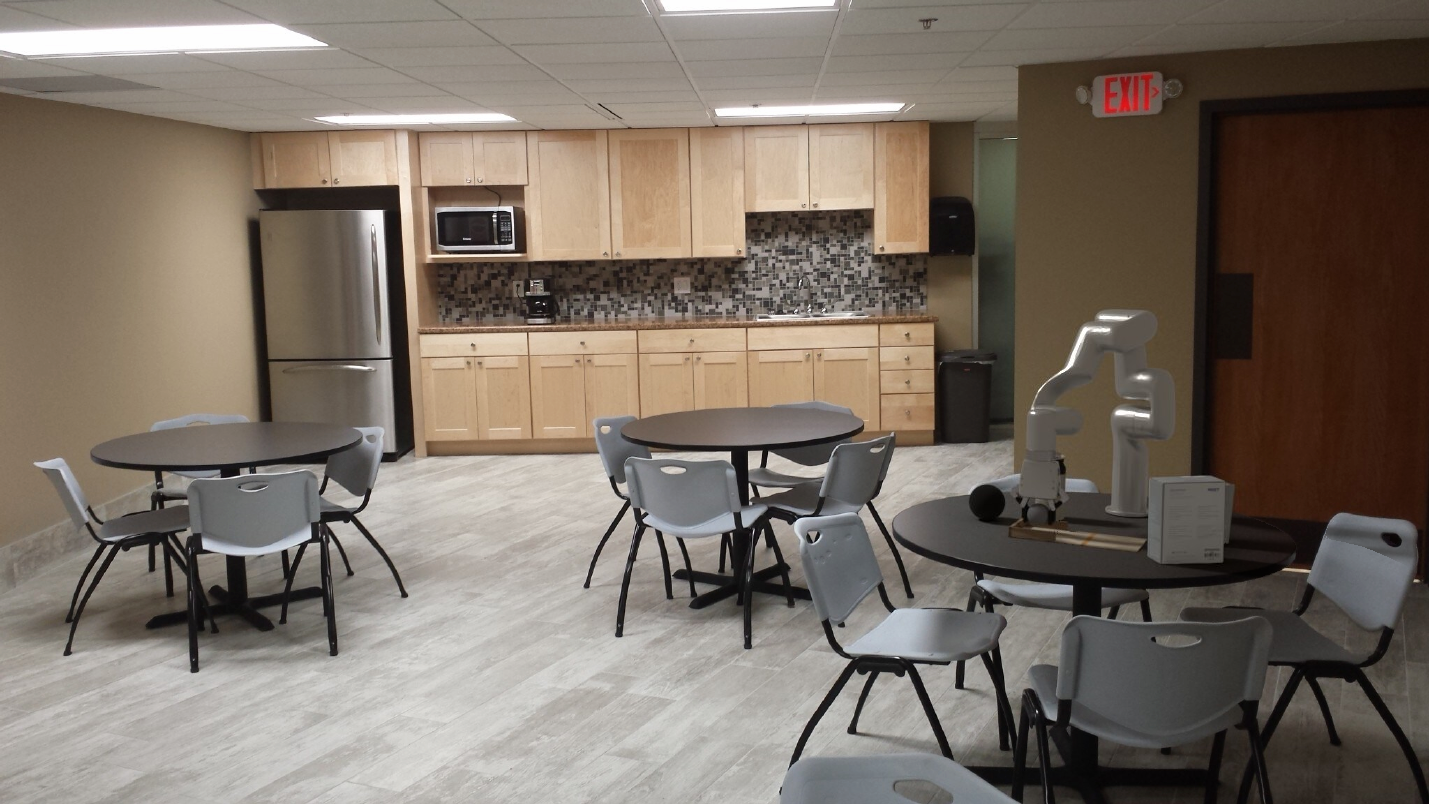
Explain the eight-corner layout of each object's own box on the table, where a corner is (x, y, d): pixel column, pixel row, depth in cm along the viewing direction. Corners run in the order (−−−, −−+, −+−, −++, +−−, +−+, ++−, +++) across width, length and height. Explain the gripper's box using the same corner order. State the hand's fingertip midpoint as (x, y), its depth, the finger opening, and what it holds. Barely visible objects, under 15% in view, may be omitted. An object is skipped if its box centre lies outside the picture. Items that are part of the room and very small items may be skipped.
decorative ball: (996, 525, 295) (997, 489, 294) (962, 520, 301) (963, 485, 300) (1010, 518, 303) (1011, 483, 302) (977, 514, 309) (977, 480, 308)
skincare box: (1185, 538, 279) (1188, 478, 277) (1207, 536, 282) (1209, 476, 280) (1211, 546, 271) (1214, 484, 270) (1232, 543, 274) (1236, 482, 272)
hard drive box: (1208, 555, 263) (1212, 475, 260) (1224, 563, 255) (1228, 481, 253) (1145, 556, 262) (1149, 476, 260) (1159, 564, 254) (1163, 482, 252)
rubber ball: (1029, 522, 289) (1030, 500, 288) (1052, 524, 286) (1053, 502, 285) (1023, 526, 284) (1024, 504, 283) (1046, 529, 281) (1047, 506, 280)
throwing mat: (1022, 526, 294) (1023, 516, 294) (1146, 540, 278) (1147, 530, 277) (1008, 536, 282) (1008, 527, 282) (1137, 552, 266) (1137, 542, 266)
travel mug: (1060, 515, 307) (1062, 453, 305) (1067, 521, 299) (1069, 458, 297) (1032, 515, 308) (1034, 453, 305) (1037, 521, 300) (1039, 457, 298)
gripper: (1077, 456, 281) (1075, 523, 284) (1011, 451, 290) (1010, 516, 292) (1070, 460, 275) (1068, 529, 277) (1004, 455, 284) (1002, 522, 286)
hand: (1038, 522), depth 285 cm, fingers closed on rubber ball, 5 cm apart
